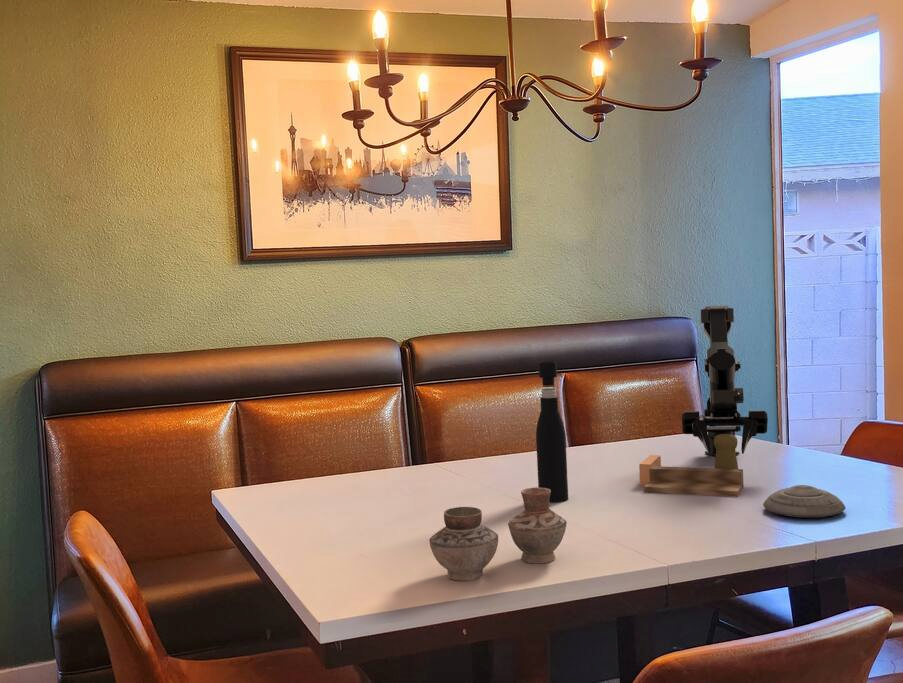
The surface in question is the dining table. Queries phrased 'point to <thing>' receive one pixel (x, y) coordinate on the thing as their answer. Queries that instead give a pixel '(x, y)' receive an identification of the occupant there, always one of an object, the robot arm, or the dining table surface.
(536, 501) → the pottery
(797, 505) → the flying saucer
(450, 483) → the dining table surface
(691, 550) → the dining table surface
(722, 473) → the guide rail
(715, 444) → the cork
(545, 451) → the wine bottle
